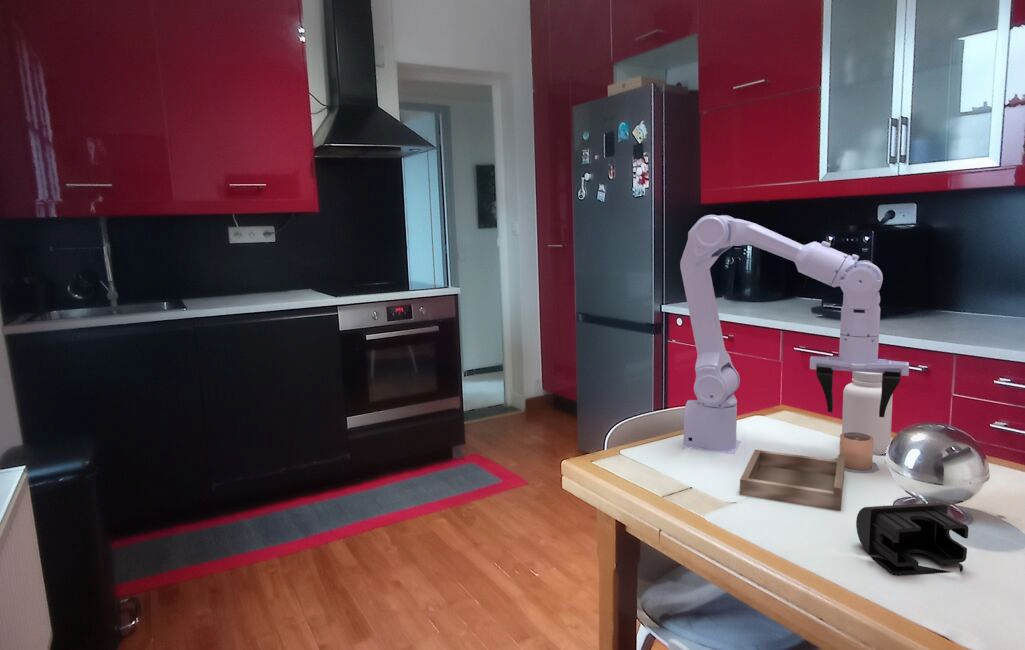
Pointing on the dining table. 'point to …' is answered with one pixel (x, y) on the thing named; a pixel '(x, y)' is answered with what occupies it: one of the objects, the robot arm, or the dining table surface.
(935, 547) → the end cap
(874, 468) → the saucer
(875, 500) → the dining table surface
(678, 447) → the dining table surface
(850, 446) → the pot
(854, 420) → the pill bottle
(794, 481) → the wooden tray
